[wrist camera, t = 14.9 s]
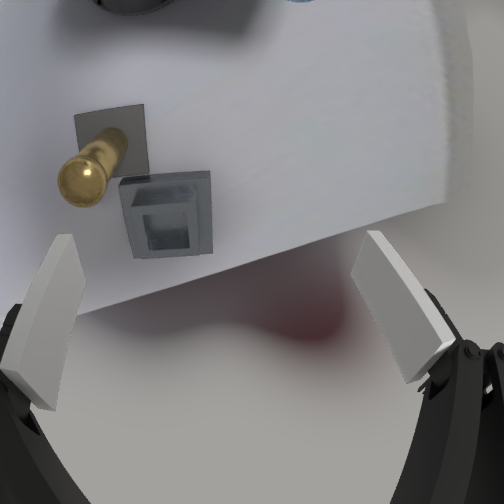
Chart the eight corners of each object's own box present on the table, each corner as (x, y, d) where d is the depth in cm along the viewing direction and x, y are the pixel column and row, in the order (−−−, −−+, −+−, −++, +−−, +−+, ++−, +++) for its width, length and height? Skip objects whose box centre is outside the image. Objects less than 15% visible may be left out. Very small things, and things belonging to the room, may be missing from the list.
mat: (75, 115, 35) (73, 115, 35) (143, 104, 37) (142, 104, 36) (86, 179, 42) (85, 180, 42) (149, 172, 44) (149, 173, 43)
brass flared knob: (90, 128, 37) (52, 163, 26) (128, 122, 38) (100, 154, 27) (96, 164, 40) (64, 210, 30) (132, 160, 41) (109, 204, 31)
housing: (122, 177, 43) (114, 194, 39) (209, 170, 45) (211, 187, 41) (136, 248, 52) (131, 269, 47) (212, 243, 54) (214, 264, 49)
